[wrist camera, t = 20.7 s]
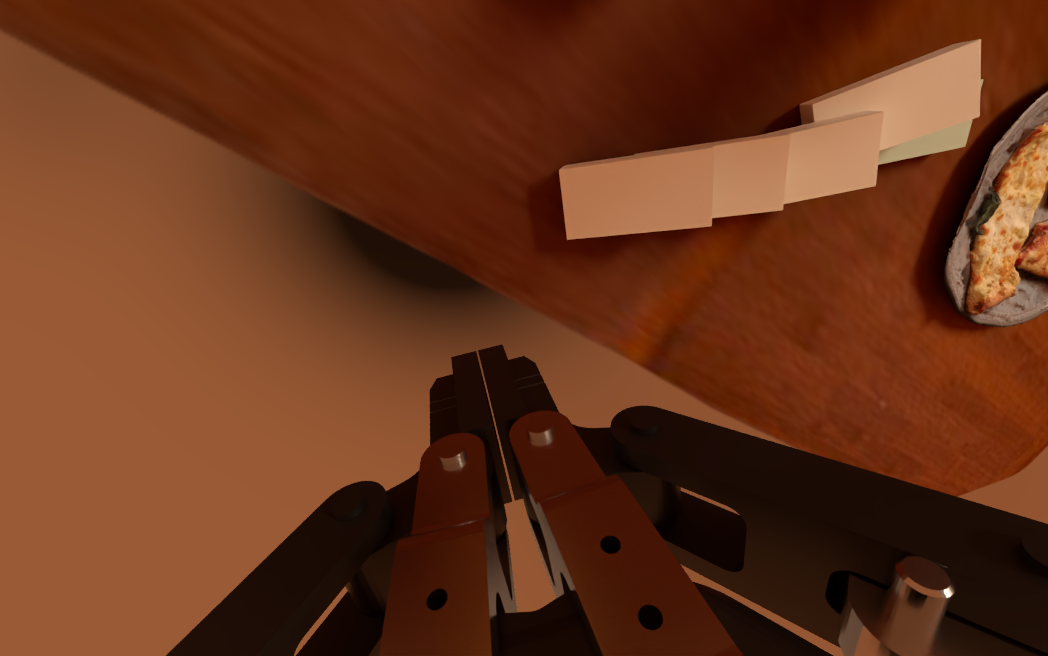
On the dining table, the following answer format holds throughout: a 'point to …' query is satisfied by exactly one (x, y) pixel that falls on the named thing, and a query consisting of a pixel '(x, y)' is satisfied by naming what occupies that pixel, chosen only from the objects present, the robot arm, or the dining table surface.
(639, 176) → the tile
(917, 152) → the sage tile
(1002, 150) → the food plate
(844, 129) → the tile
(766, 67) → the dining table surface
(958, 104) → the tile
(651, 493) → the robot arm
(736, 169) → the tile
